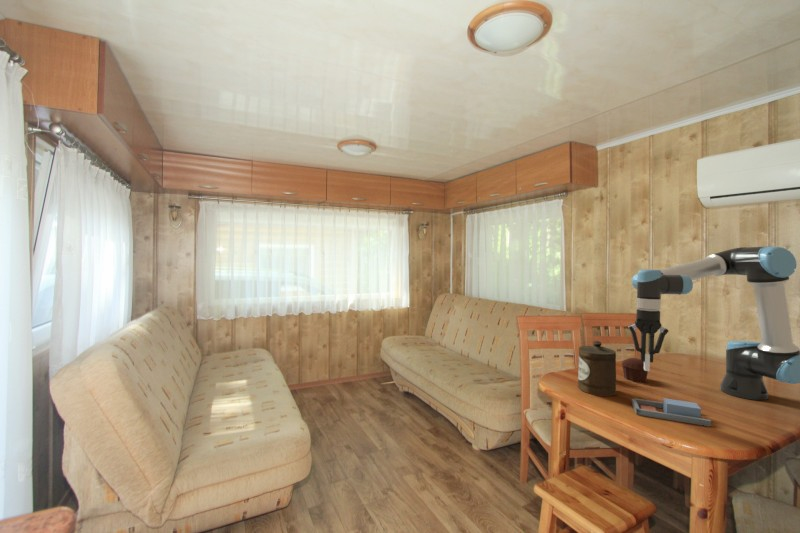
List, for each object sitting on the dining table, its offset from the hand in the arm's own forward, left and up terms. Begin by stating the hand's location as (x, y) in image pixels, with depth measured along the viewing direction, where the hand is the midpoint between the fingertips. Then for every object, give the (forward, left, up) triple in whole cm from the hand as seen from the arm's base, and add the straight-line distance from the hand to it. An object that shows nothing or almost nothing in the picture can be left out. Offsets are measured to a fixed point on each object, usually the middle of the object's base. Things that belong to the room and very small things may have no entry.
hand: (646, 370), depth 138 cm
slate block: (-11, 0, -16) cm, 19 cm away
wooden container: (+16, -16, -16) cm, 28 cm away
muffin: (-2, -41, -16) cm, 44 cm away
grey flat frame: (-7, 0, -16) cm, 17 cm away
